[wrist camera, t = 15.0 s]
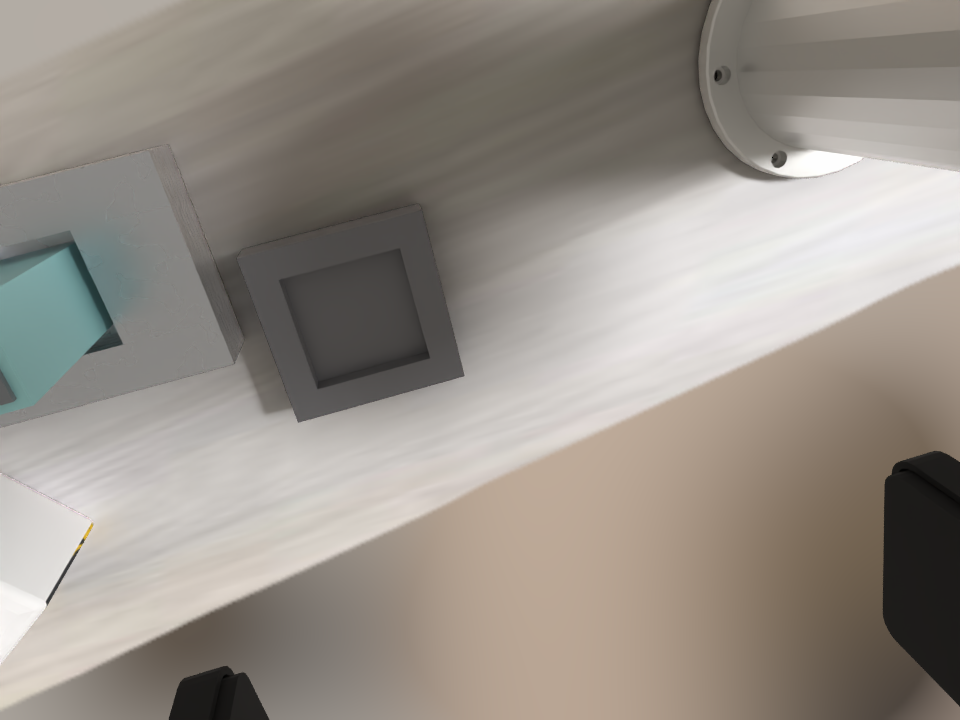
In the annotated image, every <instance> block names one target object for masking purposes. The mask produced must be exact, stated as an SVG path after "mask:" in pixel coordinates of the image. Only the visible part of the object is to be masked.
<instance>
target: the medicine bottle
mask: <svg viewBox="0 0 960 720" xmlns="http://www.w3.org/2000/svg"><path fill="white" fill-rule="evenodd" d="M92 527H93V520H92V519H90V518H89V517H87V516H85V515H83V514H81V513H79V512H77V511H75V510H73V509H71V508H69V507H67V506H65V505H63V504H61V503H59V502H57V501H55V500H53V499H51V498H49V497H47V496H45V495H44V494H42V493H40V492H38V491H36V490H34V489H32V488H30V487H28V486H26V485H24V484H22V483H20V482H18V481H16V480H14V479H12V478H10V477H8V476H6V475H4V474H2V473H0V665H1V664H2V662H3V661H4V660H5V659H6V657H7V656H8V655H9V654H10V652H11V651H12V650H13V649H14V647H15V646H16V645H17V644H18V642H19V641H20V640H21V639H22V637H23V636H24V635H25V634H26V632H27V631H28V630H29V628H30V627H31V626H32V625H33V623H34V622H35V621H36V620H37V618H38V617H39V616H40V615H41V613H42V612H43V611H44V610H45V608H46V607H47V605H48V603H49V602H50V600H51V598H52V596H53V595H54V593H55V591H56V589H57V588H58V586H59V584H60V583H61V581H62V579H63V577H64V576H65V574H66V572H67V570H68V569H69V567H70V565H71V564H72V562H73V560H74V558H75V557H76V555H77V553H78V551H79V550H80V548H81V546H82V544H83V543H84V541H85V539H86V538H87V536H88V534H89V532H90V531H91V529H92Z"/></svg>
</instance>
